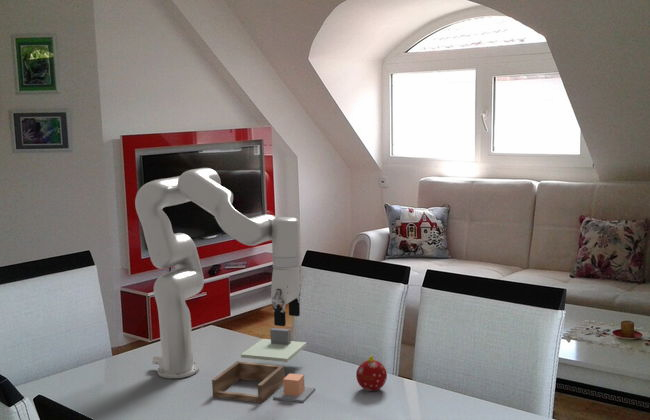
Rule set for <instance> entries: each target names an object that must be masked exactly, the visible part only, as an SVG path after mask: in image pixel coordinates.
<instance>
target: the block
mask: <svg viewBox="0 0 650 420" xmlns="http://www.w3.org/2000/svg"><path fill="white" fill-rule="evenodd" d="M282 386H283V387H284V395H292V396H300V395H301V394H302V392H303V391H304V390H305V387H306V386H305V374H298V373H297V374H296V373H288V374H287V375H286V376H285V378H284V379H283V384H282Z"/></svg>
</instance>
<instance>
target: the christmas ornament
mask: <svg viewBox="0 0 650 420" xmlns="http://www.w3.org/2000/svg"><path fill="white" fill-rule="evenodd" d="M355 377H356V381H357V383H358V385H359V386H360V387H361V388H362V389H363V390H364V391H369V392H376V391H378V390H380V389H381V388H382V387H384V385H385V384H386V381H387V380H388V379H387V377H388V374H387V369H386V367H385V366H384V365H383V364H382V363H381V362H380V361H378V360H375V359H374V356H373V355H369V357H368V360H364V361H363V362H362V363H360V364H359V366H358V367H357V370H356V376H355Z"/></svg>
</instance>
